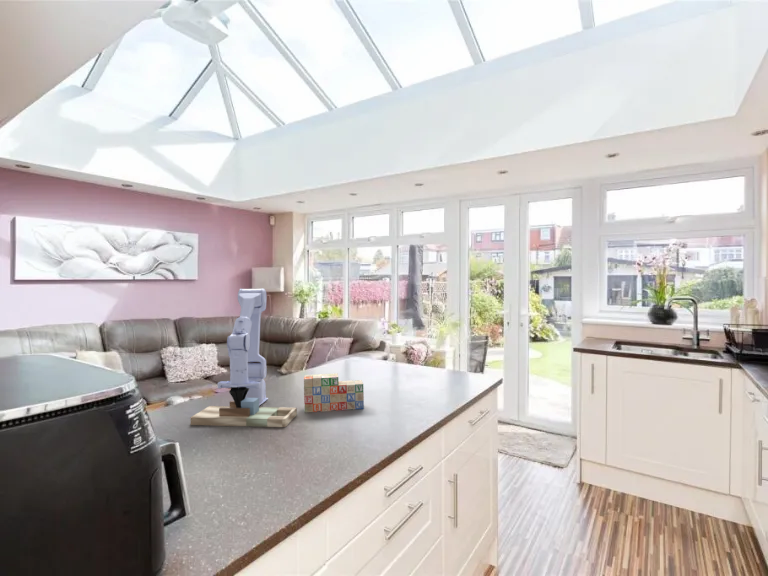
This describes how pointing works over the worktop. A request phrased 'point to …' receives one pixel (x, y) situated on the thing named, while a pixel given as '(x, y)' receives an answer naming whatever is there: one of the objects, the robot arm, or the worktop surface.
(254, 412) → the block
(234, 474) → the worktop surface
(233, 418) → the board
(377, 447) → the worktop surface
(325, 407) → the stack of blocks
